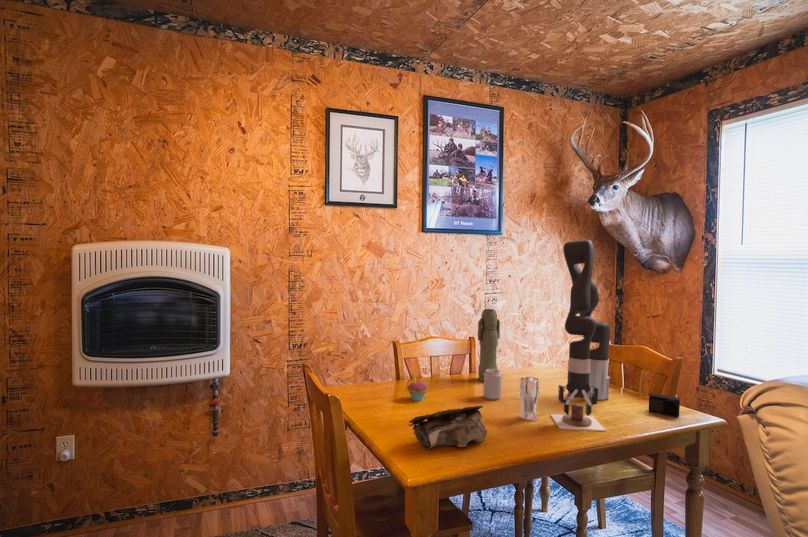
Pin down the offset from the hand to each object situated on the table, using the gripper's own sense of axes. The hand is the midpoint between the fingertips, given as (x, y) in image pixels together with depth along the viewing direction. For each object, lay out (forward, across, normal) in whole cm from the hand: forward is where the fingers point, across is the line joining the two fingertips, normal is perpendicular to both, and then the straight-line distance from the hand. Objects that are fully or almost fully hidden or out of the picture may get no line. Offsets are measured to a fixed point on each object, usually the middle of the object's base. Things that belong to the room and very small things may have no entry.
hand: (577, 414), depth 168 cm
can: (+3, +28, -26) cm, 38 cm away
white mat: (+3, 0, 0) cm, 3 cm away
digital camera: (+4, -38, -15) cm, 41 cm away
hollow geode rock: (+4, +48, +24) cm, 54 cm away
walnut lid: (+3, 0, 0) cm, 3 cm away
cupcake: (+3, +60, -19) cm, 63 cm away
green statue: (+3, +27, -54) cm, 60 cm away
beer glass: (+3, +17, -3) cm, 18 cm away
